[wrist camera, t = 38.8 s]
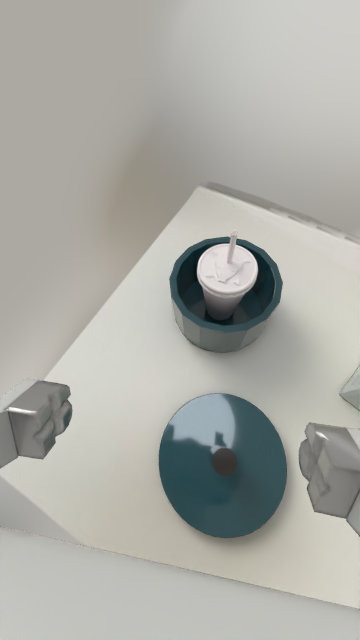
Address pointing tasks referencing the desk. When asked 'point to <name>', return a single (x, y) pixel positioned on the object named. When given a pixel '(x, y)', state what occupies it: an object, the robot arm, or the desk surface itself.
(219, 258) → the smoothie
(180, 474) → the lid
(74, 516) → the desk surface
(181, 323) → the pot
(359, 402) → the small box
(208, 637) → the robot arm
